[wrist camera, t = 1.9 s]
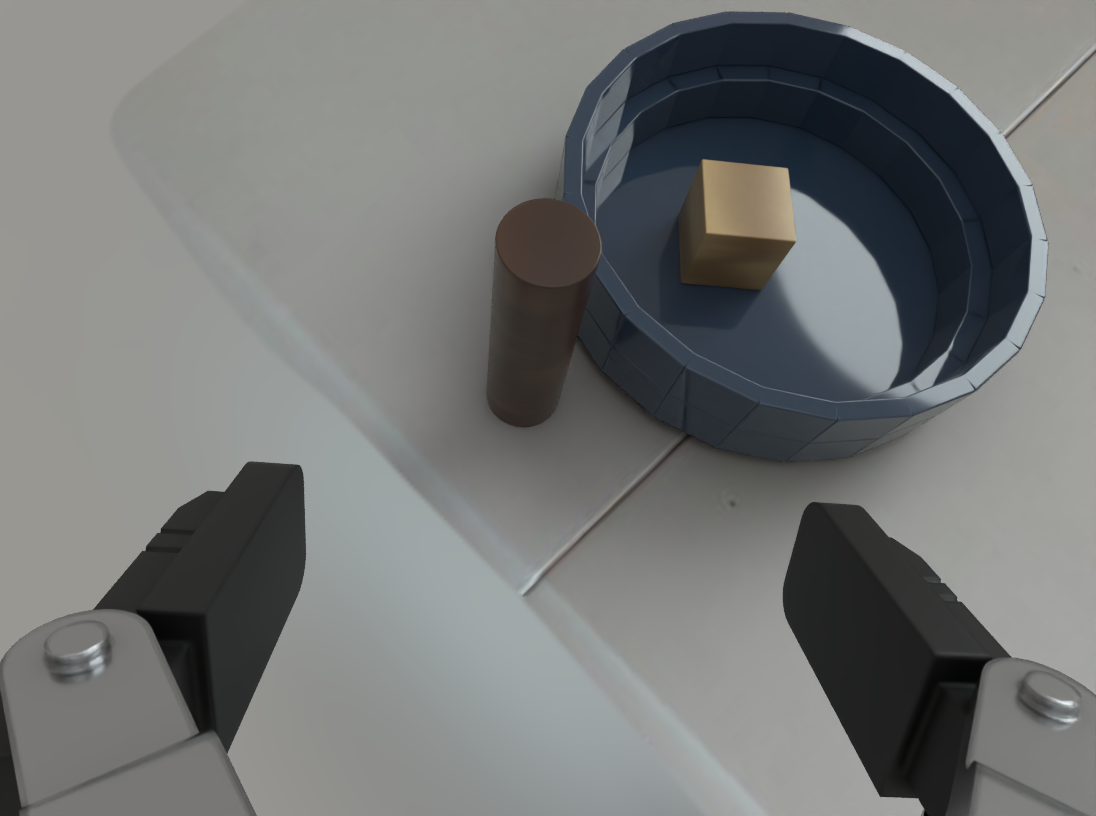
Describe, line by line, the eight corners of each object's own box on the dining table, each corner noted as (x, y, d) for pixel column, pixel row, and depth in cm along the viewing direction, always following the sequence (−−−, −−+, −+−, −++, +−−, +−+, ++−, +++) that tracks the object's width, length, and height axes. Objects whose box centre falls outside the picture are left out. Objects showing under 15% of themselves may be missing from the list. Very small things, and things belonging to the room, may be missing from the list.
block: (680, 283, 30) (705, 232, 27) (677, 214, 31) (701, 158, 28) (762, 291, 30) (797, 241, 27) (756, 222, 32) (788, 167, 28)
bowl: (540, 450, 27) (555, 399, 23) (557, 81, 34) (571, -15, 30) (1001, 483, 29) (1103, 440, 24) (925, 122, 36) (993, 36, 31)
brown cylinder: (483, 424, 27) (491, 282, 18) (489, 358, 28) (498, 192, 19) (557, 429, 28) (601, 292, 18) (559, 363, 29) (602, 202, 19)
